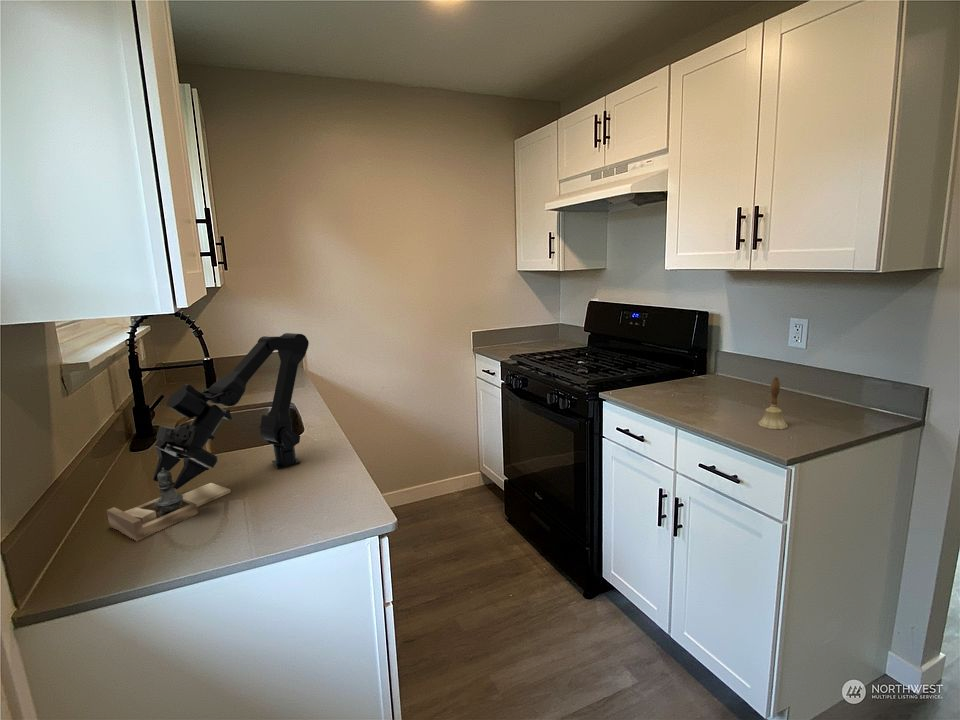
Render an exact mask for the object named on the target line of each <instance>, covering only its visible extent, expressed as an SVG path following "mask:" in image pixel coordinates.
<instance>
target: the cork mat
mask: <svg viewBox="0 0 960 720" xmlns="http://www.w3.org/2000/svg"><path fill="white" fill-rule="evenodd" d="M231 492H232V491H231V489H230V488H227V487H225V486H222V485H219V484H215V483H213V482H209V483H207V484H204V485H201V486H199V487H197V488H195V489H192V490H190V491H187V492H185V493H182V494H181V495H182V496H183V498H182V502H183V503H185V504H187V505H190V504H192V503H194V504H196V505H197V508H199V507H201V506H203V505H205V504H207V503H209V502H212V501H214V500H216V499H218V498H221V497H223V496H226V495H228V494H230V493H231Z"/></svg>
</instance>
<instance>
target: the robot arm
mask: <svg viewBox="0 0 960 720" xmlns="http://www.w3.org/2000/svg"><path fill="white" fill-rule="evenodd" d="M309 344H310V342H309V340H308V338H307V336H306V335H305V334H303V333H292V332H286V333H283V334H282V335H280V336H267V335H266V336H261V337H260V338H258V340H257V343H256V344H255V345H254V346H253V347H252V348H251V349H250V350H249V352H248V353H246V355H245V356H244V357H243V358H242V360H240V362H239V363H238V364H237V365H236V366H235V368H234V369H233V370H232V371H230V372H229V373H228V374H225V375H224V376H222V377H220V378H219V379H218V380H216V381H215V382H214V383H212V385H210V386H209V388H208V389H205V390H202V391H199V390H197V389H196V388H195V387H194V386H192V385H191V384H187V383H184V384H183V385H182V387H180V388H178V389H177V390H175V391H174V392H173V393H171V394H170V395H169V397H168V399H167V402H166V405H167V407H168V408H169V409H171V410H172V411H174V412H176V413H178V414H179V415H181V416H183V417H185V418H186V419H192V421H191V422H190V424H188V423H187V424H183V426H181V425H176V426H175V427H171V426H163V425H159V427H158V430H157V433H156V438H155V439H156V440H157V441H156V442H155V444H154V447H155V451H156V453H157V455H158V462H157V464H156V467H155V471H154V475H153V479H152V481H154V482H158V477H157V475H158V473H159V472H161V471H162V468H165V469H164V470H168V471H170V472H171V470H172V469H173V468H174V467H176V466H177V464H178V463H180V461H181V460H182V459H183V466H182V468H181V470H180V472H179V474H178V476H177V478H176V480H175V481H174V483H175V484H174V486H173V488H174V490H178V489H180V488H181V487H183V486H185V485H186V484H187V483H188V482H190V481H192V480H193V479H195V478H196V477H197V476H199V475H201V474H202V473H204V472H206V471H209V470H210V468H212V469H214V468H215V466H216V465H217V463H218V456H217V455H216V454H213V453H211V452H209V451H207V450H206V449H205V447H206V446H207V443H209V440H210V441H214V439H215V437H216V436H214V435H213V434H214V433H215V431H216V429H217V428H218V426H219V425H220V423H221V422H222V420H223V419H225V420H229V421H232V419H233V416H232V415H231V409H229V408H221V407H220V406H225V407H234V406H236V405H237V404H238V403H239V402H240V401H241V399H242V397H243V396H244V394H245V392H246V388H247V384H248V382H249V381H250V380H251V379H252V378H253V376H254V375H255V374H256V372H258V370H259V369H260V368H261V367H262V366H263V364H264V363H265V362H266V361H267V360H268V358H269V357H270V356H271V355H272V354H273V352H274V351H277V353H278V356H279V361H280V365H279V370H278V374H277V378H276V379H277V380H276V382H275V383H276V384H275V389H274V395H273V399H272V403H271V404H272V405H271V408H270V411H269V412H268V413H267V414H262V415H261V419H260V420H261V421H260V425H259V426H258V429H259V430H260V435H261V437H262V439H264V440H266V442H267V444H269V445H273V452H274V454H273V455H274V460H272V461H271V463H272V464H273V466H275V467H276V468H277V469H283V468H286V467H291V466H294V465H297V464H301V460H300V459H298V458H297V457H296V447H295V446H296V445H298V444H300V440H301V435H299V434H298V433H296V432H294V431H293V422H292V421H293V420H292V418H291V415H290V408H291V404H292V399H293V393H294V390H295V389H294V388H295V383H296V378H297V374H298V373H297V372H298V367H299V364H300V363H301V362H302V360H303V359H304V358H305V357H306V354H307V352H308V349H309V346H310V345H309ZM208 403H211V404H212V403H213V404H212V405H210V404H208ZM218 405H220V406H218ZM181 457H183V458H181Z"/></svg>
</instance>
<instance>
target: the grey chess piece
mask: <svg viewBox="0 0 960 720" xmlns="http://www.w3.org/2000/svg"><path fill="white" fill-rule="evenodd" d="M164 469H165V468H162V471H161V472H159V473H158V475H157V477H158V481H157V482H158V486H157V489H159V493H160V496H159V497H160V499H158V500H157V501H156V502H155V505H156V506H157V508H158V509H159V510H158V511H160V512H161V513H159V514H158V518H159V517H162V516H164V515H166V514H169V513H171V512H173V511H176V510H178V509H180V508H181V507H180V506H181V505H182V502H183V501H182V498H183V496H182V494H180V493H179V494H178V493H177V492H176V491H175V490H176V489H175V488H173V486H174V484H175V481H174V482H173V476H172V473H171V470H170V471H168V470H164Z"/></svg>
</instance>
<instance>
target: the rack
mask: <svg viewBox="0 0 960 720" xmlns="http://www.w3.org/2000/svg"><path fill="white" fill-rule="evenodd" d="M158 499H160V496H159V497H157V498H155V499H152V500H150V501H147V502H145V503H143V504H140V505H137V506H134V507H133V508H130V509H127V510H125V511H124V510H121V509H119V508H117V507H114V506H113V507H111V508H109V509H106V514H107V519H108V524H109V527H110V526H111V527H113V528H115V529H117V530H119V531H120V532H122V533H123V534H125V535H127V536H129V537H130V538H129V537H128V538H129V539H131V538H132V539H131V540H133V539H134V540H133V541H135V540H136V541H135V542H139V541H141V540H143V539H145V537H146V538H148V537H150V536H152V535H154V534H156V533H155V532H157V531H159V532H161V531H163V530H165V529H167V528H166V527H168V528H170V527H172V526H174V525H176V524H179V523H181V522H182V520H183V521H185V520H188V519H189V517H190V518H192V517H194V516H197V515H198V514H199V511H198V507H197V505H196V504H194V503H192V504H187V505H185V506H183V507H180V509H178V510H176V511H173V512H171V513H169V514H166V515H164V516H162V517H160V518H159V517H158V518H157V517H156V518H157V519H155V520H153V521H150V522H148V523H146V524H143V525H142V522H141V520H140V519H138V518H136V517H134V516H132V515H130V514H128V513H127V512H129V511H131V510H133V509H135V508H140V509H146V510H152V511H155V512H157V511H156V510H158V511H160V510H159V509H158V508H157V506H156V505H155V502H156V501H157V500H158ZM178 522H179V523H178ZM173 524H174V525H173ZM171 525H172V526H171ZM169 526H170V527H169ZM164 528H165V529H164ZM162 529H163V530H162ZM160 530H161V531H160ZM120 532H119V533H120ZM122 533H121V534H122ZM153 533H154V534H153ZM157 533H158V532H157ZM123 534H122V535H123ZM151 534H152V535H151ZM125 535H124V536H125ZM149 535H150V536H149ZM127 536H126V537H127ZM147 536H148V537H147ZM138 540H139V541H138Z"/></svg>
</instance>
